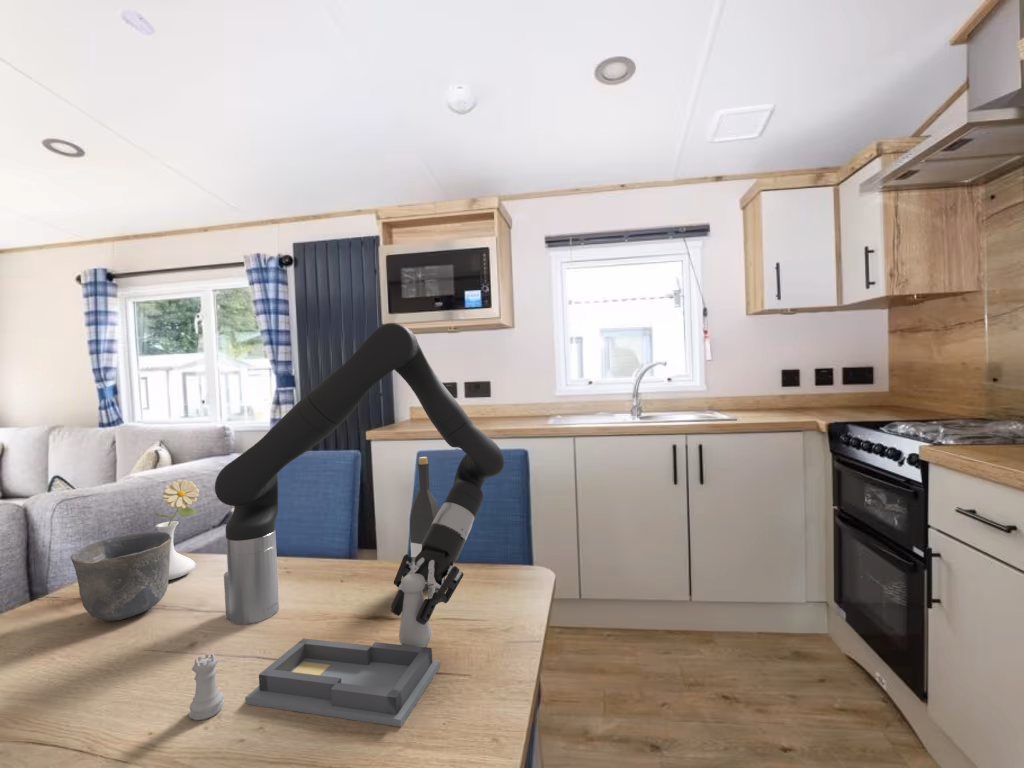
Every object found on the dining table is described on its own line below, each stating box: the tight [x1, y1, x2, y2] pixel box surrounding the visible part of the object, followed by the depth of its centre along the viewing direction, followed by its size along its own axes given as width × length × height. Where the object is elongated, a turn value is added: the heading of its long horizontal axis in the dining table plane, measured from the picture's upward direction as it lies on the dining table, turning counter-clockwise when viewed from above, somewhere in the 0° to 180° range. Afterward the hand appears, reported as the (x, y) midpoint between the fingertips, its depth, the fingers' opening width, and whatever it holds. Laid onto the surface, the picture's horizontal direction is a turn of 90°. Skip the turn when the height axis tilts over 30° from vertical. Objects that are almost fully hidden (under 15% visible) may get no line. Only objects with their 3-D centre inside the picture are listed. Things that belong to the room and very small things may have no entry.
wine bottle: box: [409, 456, 446, 591], centre depth 113 cm, size 8×8×30 cm
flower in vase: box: [154, 479, 200, 581], centre depth 124 cm, size 13×11×25 cm
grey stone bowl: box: [70, 531, 172, 622], centre depth 105 cm, size 18×18×15 cm
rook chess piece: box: [188, 653, 225, 722], centre depth 71 cm, size 4×4×8 cm
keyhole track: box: [244, 637, 441, 728], centre depth 76 cm, size 26×14×4 cm, turn 76°
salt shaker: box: [398, 574, 433, 648], centre depth 86 cm, size 6×6×13 cm
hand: (407, 617), depth 84 cm, fingers open, 5 cm apart
